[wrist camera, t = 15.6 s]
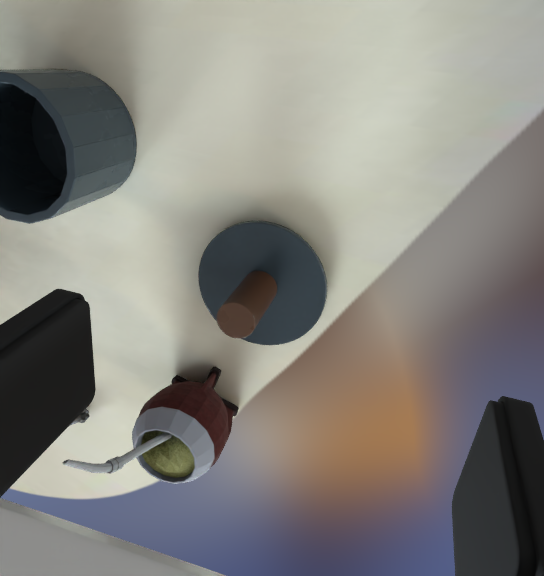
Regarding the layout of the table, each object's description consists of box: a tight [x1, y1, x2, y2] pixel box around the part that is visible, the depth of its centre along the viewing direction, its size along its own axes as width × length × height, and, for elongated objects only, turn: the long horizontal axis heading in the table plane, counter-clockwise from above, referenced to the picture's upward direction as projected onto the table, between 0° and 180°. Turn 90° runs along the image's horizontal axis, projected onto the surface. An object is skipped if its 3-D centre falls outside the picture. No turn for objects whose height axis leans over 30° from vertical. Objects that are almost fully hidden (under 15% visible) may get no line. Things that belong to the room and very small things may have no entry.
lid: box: [199, 221, 327, 345], centre depth 35 cm, size 10×10×7 cm
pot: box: [0, 69, 136, 224], centre depth 34 cm, size 9×9×7 cm
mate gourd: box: [63, 367, 238, 484], centre depth 37 cm, size 8×8×15 cm
